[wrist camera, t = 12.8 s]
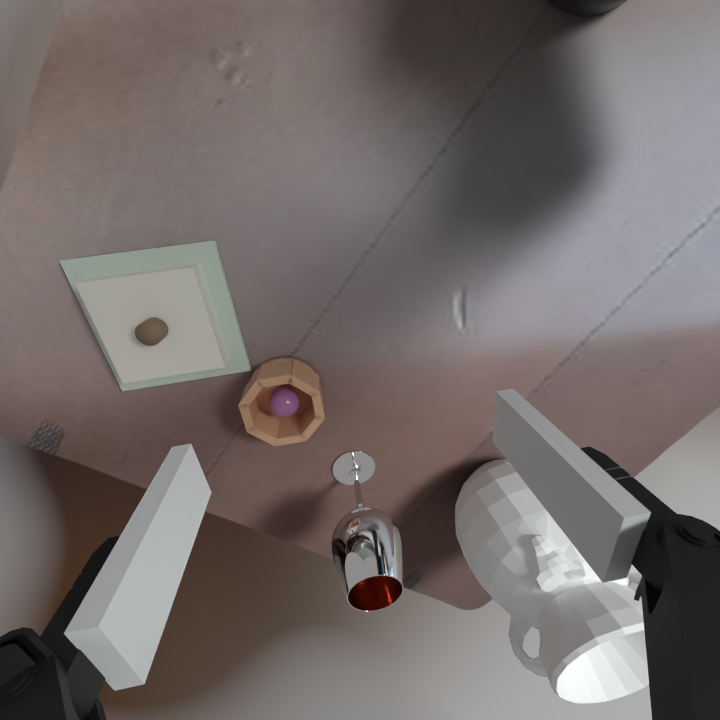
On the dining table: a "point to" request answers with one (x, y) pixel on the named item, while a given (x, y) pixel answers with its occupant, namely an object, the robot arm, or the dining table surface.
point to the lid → (156, 322)
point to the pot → (283, 401)
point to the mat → (161, 259)
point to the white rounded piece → (551, 590)
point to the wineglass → (366, 543)
